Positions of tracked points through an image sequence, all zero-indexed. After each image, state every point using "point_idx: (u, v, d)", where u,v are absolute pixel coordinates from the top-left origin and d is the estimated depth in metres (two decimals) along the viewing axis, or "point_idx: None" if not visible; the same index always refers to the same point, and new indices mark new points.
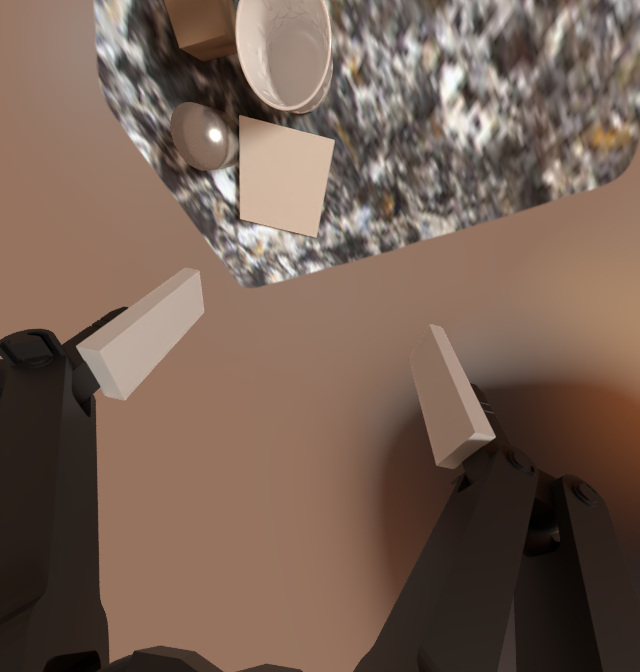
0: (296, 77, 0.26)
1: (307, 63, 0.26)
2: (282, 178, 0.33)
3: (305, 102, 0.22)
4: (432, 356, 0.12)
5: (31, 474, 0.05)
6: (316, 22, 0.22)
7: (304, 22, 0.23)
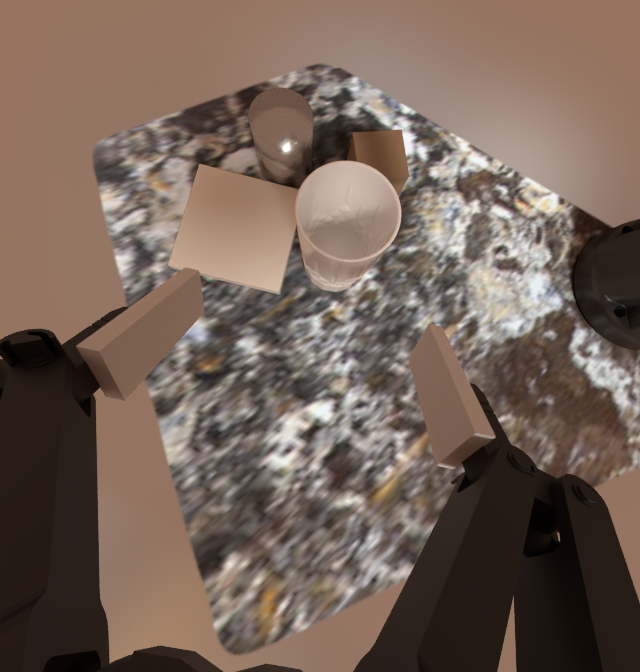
0: (329, 252, 0.26)
1: None
2: (244, 227, 0.26)
3: (301, 229, 0.17)
4: (432, 356, 0.12)
5: (32, 474, 0.05)
6: None
7: None
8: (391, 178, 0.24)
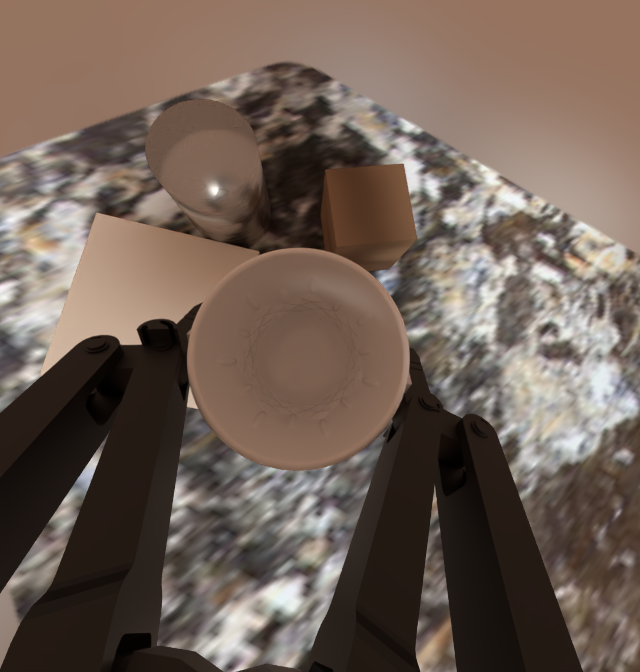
0: (294, 350, 0.17)
1: (309, 368, 0.17)
2: (163, 311, 0.17)
3: (198, 403, 0.08)
4: None
5: (141, 446, 0.06)
6: (344, 394, 0.14)
7: (347, 368, 0.16)
8: (388, 243, 0.15)
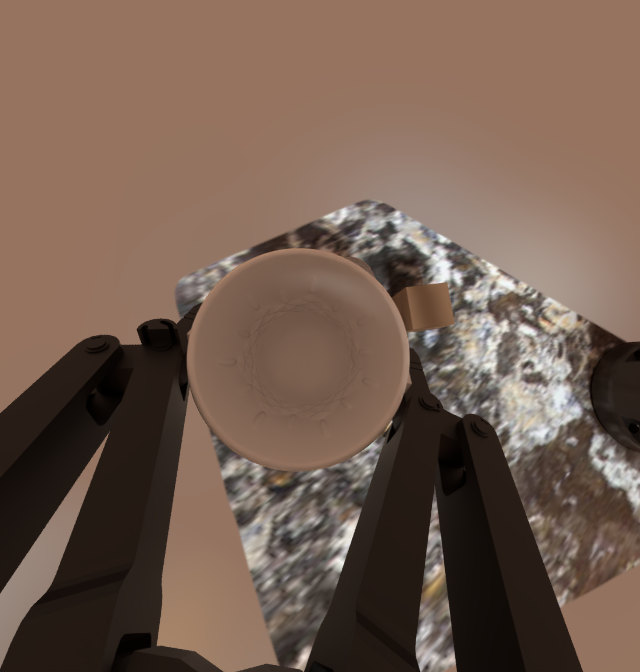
0: (294, 351, 0.17)
1: (309, 369, 0.17)
2: None
3: (198, 404, 0.08)
4: None
5: (141, 446, 0.06)
6: (344, 394, 0.14)
7: (347, 369, 0.16)
8: (439, 326, 0.28)
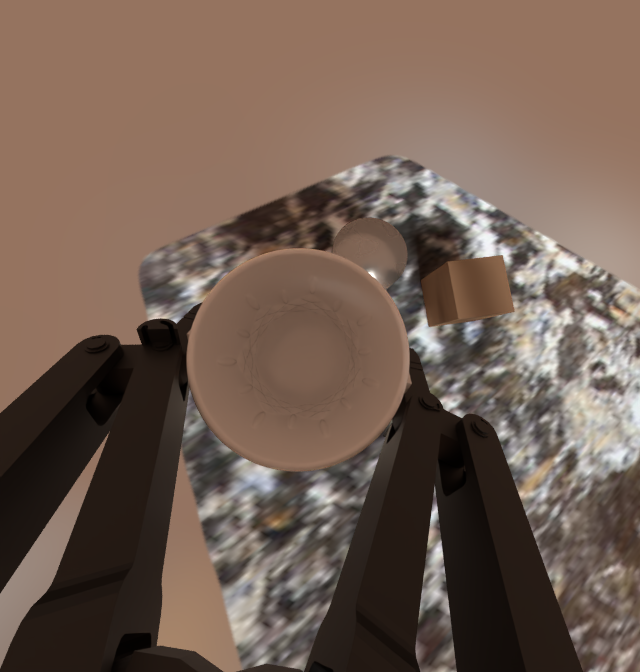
0: (294, 351, 0.17)
1: (309, 369, 0.17)
2: None
3: (198, 404, 0.08)
4: None
5: (141, 446, 0.06)
6: (344, 394, 0.14)
7: (347, 369, 0.16)
8: (493, 314, 0.21)
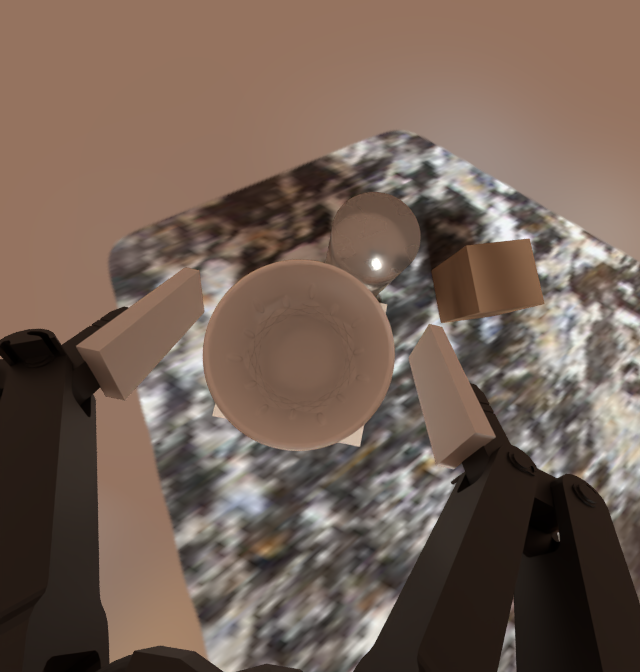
0: (294, 352, 0.18)
1: (308, 369, 0.18)
2: None
3: (212, 391, 0.10)
4: (432, 356, 0.12)
5: (31, 474, 0.05)
6: (340, 391, 0.15)
7: (343, 368, 0.17)
8: (519, 307, 0.18)
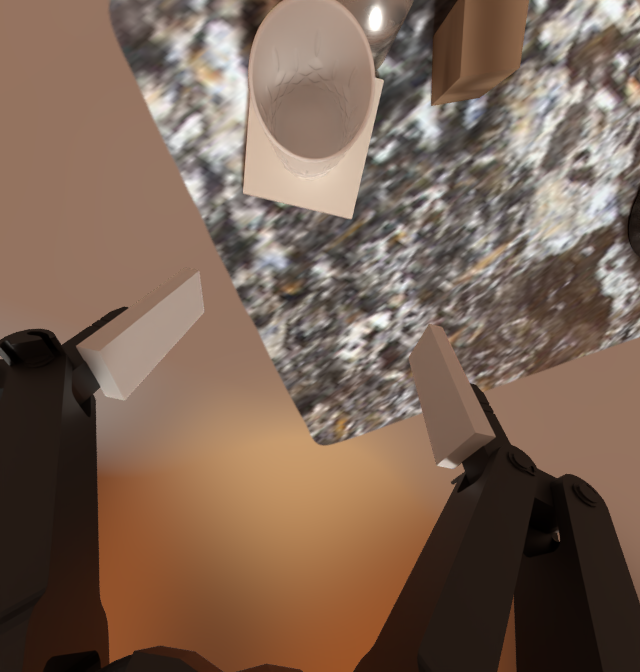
0: (302, 128, 0.22)
1: (313, 145, 0.23)
2: None
3: (259, 119, 0.15)
4: (432, 356, 0.12)
5: (31, 474, 0.05)
6: None
7: (341, 142, 0.22)
8: (496, 72, 0.20)
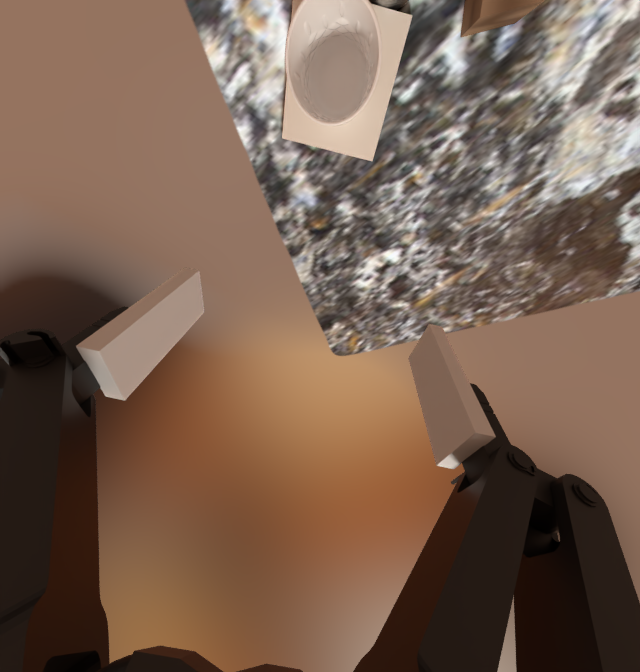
0: (332, 77, 0.26)
1: (341, 93, 0.27)
2: None
3: (292, 92, 0.21)
4: (432, 356, 0.12)
5: (32, 474, 0.05)
6: (358, 105, 0.25)
7: (364, 90, 0.26)
8: (520, 7, 0.21)
